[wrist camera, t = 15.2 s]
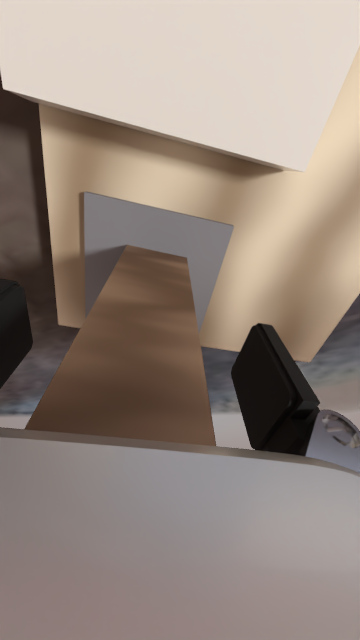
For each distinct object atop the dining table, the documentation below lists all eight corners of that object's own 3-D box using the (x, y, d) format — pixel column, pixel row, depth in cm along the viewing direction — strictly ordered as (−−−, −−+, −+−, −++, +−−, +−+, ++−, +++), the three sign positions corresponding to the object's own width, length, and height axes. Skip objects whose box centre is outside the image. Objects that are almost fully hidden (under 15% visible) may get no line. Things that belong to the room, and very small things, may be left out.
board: (544, -5, 10) (588, -25, 9) (303, 352, 20) (309, 362, 19) (26, -249, 7) (0, -321, 6) (64, 315, 18) (58, 324, 17)
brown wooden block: (186, 257, 14) (225, 506, 4) (174, 307, 16) (177, 560, 6) (127, 244, 13) (-11, 493, 3) (121, 297, 15) (23, 558, 5)
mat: (232, 224, 13) (234, 226, 13) (197, 335, 17) (197, 338, 17) (86, 191, 12) (83, 191, 12) (87, 317, 16) (85, 321, 16)
